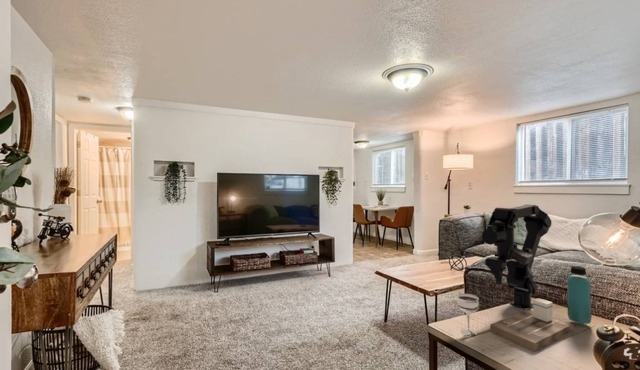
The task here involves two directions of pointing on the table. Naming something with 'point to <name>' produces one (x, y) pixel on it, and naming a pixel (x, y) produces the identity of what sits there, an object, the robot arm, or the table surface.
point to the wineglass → (468, 309)
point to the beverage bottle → (579, 296)
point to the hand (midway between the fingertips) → (506, 281)
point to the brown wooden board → (531, 330)
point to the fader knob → (542, 309)
